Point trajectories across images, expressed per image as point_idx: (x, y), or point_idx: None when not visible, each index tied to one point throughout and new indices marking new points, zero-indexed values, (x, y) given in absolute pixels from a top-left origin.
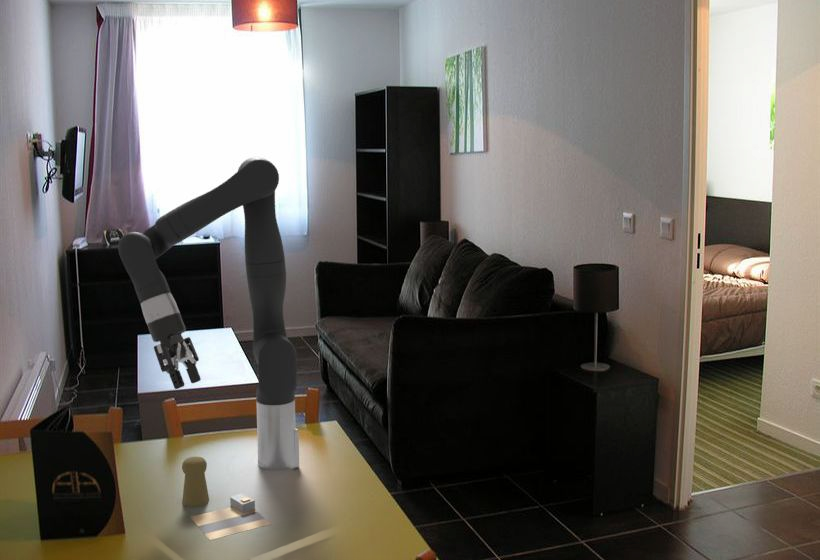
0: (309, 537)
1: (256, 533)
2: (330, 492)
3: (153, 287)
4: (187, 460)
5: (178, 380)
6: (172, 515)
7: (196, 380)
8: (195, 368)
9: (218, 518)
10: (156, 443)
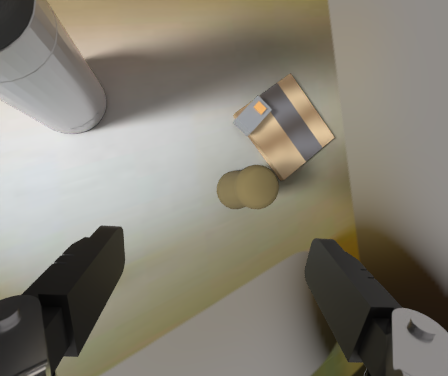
0: (298, 30)
1: None
2: (168, 7)
3: None
4: (269, 196)
5: (363, 267)
6: (265, 211)
7: (121, 243)
8: (82, 274)
9: (283, 142)
10: None
